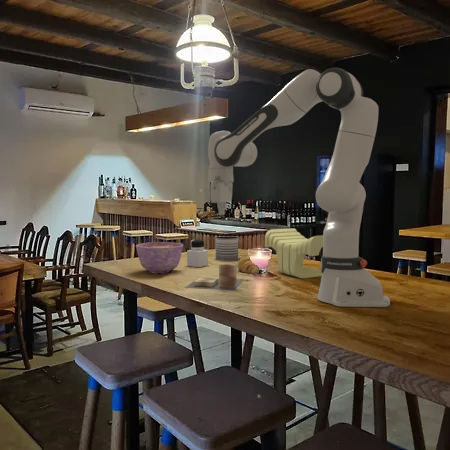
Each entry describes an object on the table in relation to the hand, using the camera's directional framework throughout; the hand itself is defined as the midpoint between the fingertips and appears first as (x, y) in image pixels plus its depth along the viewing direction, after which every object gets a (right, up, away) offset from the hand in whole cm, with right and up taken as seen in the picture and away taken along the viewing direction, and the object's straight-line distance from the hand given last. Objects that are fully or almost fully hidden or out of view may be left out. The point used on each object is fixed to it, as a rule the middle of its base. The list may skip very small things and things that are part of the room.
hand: (221, 214), depth 170 cm
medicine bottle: (-12, -23, +44) cm, 51 cm away
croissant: (+11, -24, +31) cm, 41 cm away
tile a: (-5, -24, +3) cm, 25 cm away
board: (-2, -26, 0) cm, 26 cm away
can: (+2, -21, +64) cm, 67 cm away
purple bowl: (-27, -24, +28) cm, 46 cm away
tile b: (+2, -26, -5) cm, 26 cm away
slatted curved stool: (+33, -25, +23) cm, 47 cm away
